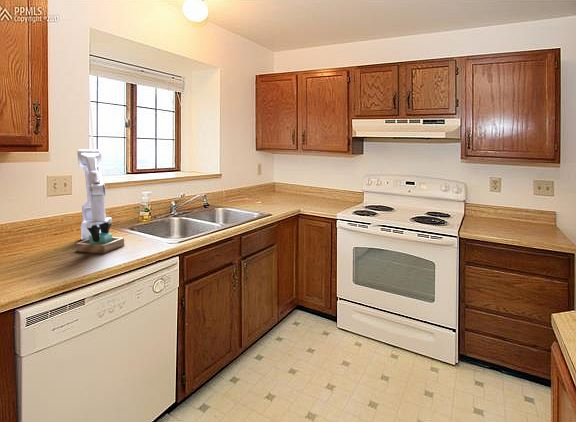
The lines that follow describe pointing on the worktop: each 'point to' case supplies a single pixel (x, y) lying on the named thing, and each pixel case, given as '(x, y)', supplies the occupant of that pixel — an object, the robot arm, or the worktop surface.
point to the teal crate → (101, 239)
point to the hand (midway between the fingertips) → (100, 240)
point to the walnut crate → (99, 246)
